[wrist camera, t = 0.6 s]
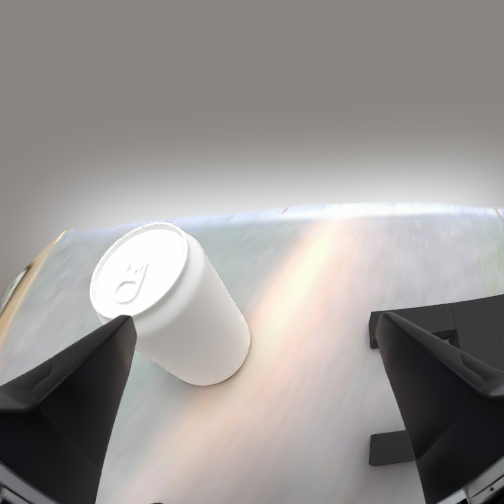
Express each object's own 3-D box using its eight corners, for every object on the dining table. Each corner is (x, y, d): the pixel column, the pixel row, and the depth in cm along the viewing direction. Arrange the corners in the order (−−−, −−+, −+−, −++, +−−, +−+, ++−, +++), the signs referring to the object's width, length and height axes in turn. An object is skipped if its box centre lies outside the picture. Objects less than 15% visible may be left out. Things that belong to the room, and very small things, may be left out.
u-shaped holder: (566, 397, 8) (578, 390, 6) (368, 464, 14) (372, 466, 12) (544, 293, 15) (553, 282, 14) (368, 322, 21) (371, 311, 20)
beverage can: (259, 308, 25) (212, 210, 17) (243, 393, 20) (167, 336, 12) (183, 305, 28) (116, 223, 19) (161, 379, 23) (67, 317, 14)
